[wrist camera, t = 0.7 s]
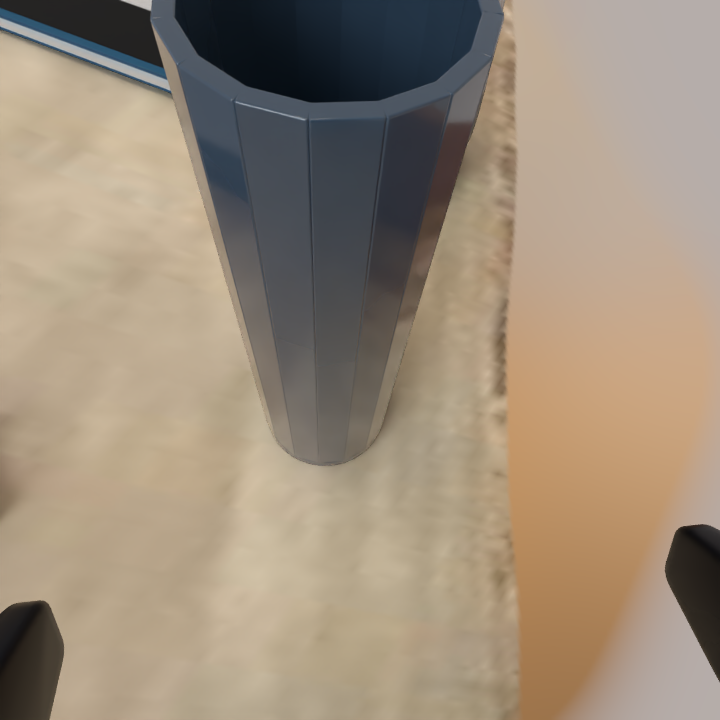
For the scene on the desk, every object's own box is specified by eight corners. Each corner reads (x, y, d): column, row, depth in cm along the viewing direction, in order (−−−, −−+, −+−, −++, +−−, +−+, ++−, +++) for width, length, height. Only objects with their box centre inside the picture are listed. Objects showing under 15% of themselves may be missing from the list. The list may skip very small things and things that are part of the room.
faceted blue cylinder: (391, 459, 24) (539, 113, 7) (269, 471, 23) (141, 125, 7) (376, 351, 26) (465, -101, 10) (264, 360, 25) (158, -103, 9)
